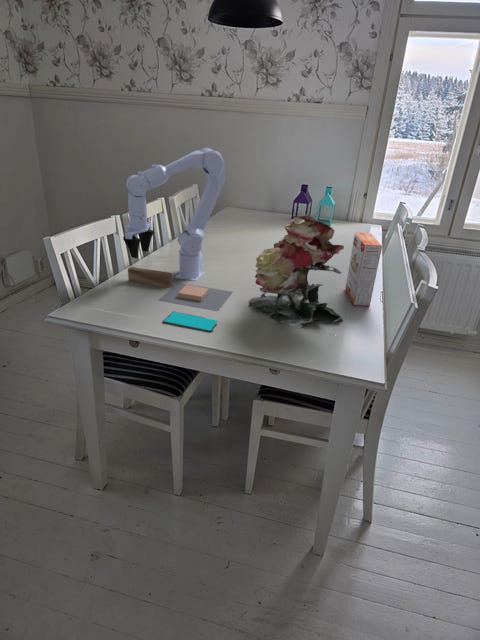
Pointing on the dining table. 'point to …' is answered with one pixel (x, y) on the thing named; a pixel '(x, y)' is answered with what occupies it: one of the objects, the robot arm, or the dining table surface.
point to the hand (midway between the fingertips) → (140, 254)
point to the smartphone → (190, 321)
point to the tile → (193, 293)
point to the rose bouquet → (295, 272)
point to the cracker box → (363, 268)
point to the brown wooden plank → (150, 277)
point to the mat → (210, 302)
